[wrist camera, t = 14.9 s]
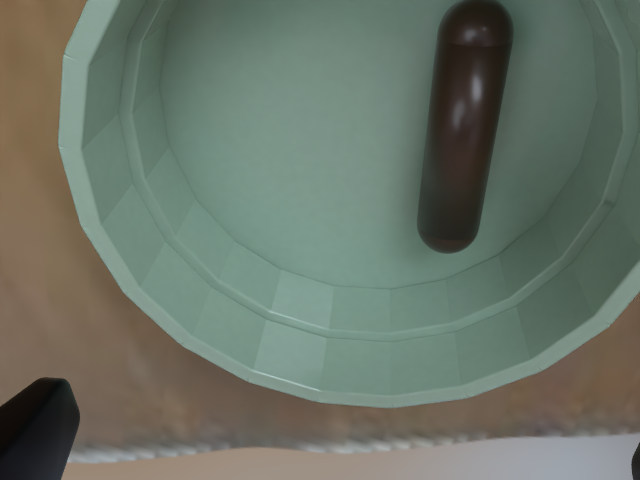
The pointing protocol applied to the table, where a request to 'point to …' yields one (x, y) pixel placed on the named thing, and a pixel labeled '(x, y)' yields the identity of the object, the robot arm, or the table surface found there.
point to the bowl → (353, 189)
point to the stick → (463, 121)
